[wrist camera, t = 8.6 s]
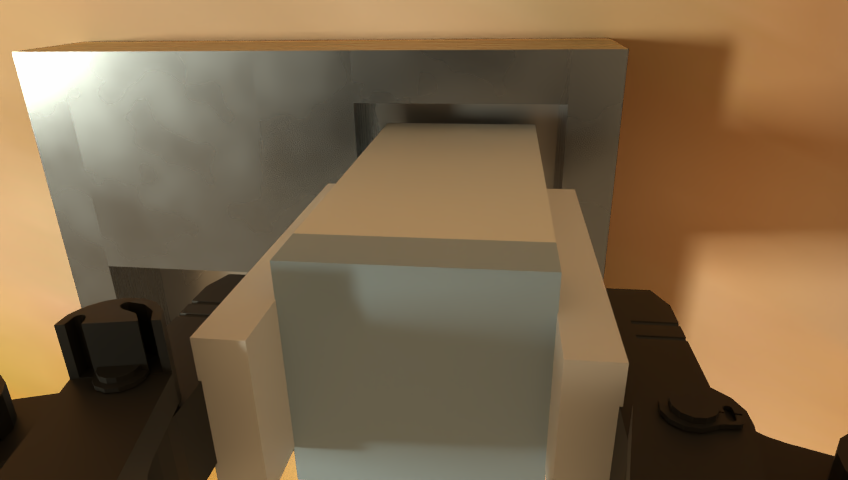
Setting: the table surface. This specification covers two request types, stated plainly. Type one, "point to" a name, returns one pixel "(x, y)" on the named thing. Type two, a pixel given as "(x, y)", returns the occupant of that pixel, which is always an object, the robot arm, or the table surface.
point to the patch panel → (281, 138)
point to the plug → (424, 310)
